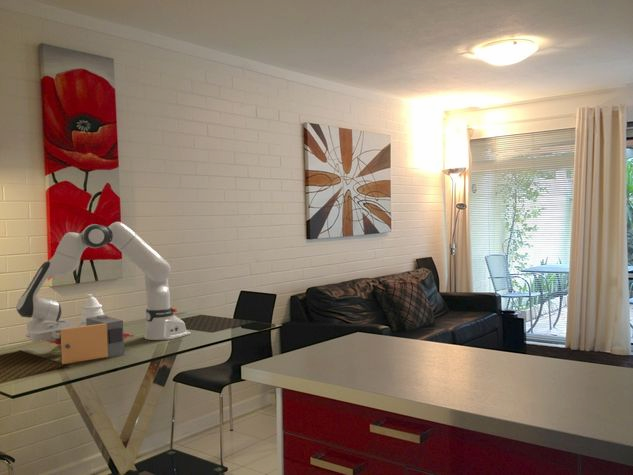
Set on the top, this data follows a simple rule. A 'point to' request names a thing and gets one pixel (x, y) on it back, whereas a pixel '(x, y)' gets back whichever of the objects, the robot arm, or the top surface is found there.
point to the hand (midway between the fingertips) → (61, 335)
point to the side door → (84, 343)
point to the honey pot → (90, 309)
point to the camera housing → (111, 333)
